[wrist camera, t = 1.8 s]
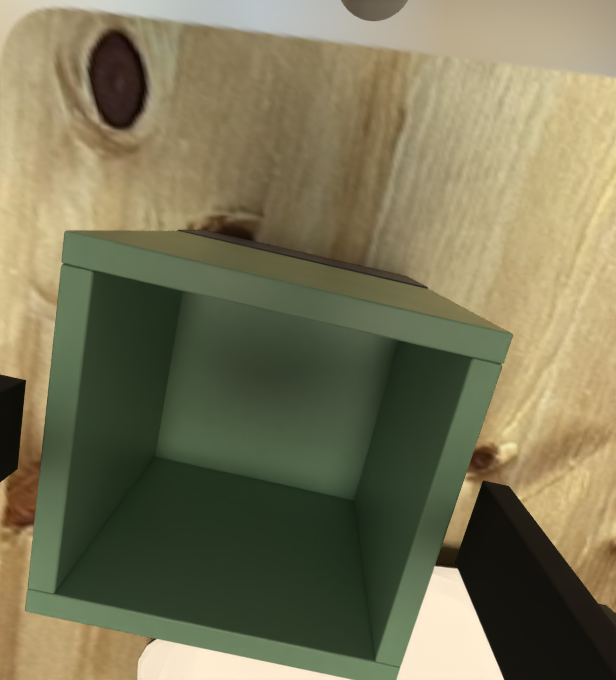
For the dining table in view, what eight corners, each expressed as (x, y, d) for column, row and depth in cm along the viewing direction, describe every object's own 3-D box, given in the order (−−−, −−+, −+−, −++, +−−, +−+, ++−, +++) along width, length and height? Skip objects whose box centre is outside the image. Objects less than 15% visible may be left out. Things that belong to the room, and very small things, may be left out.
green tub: (177, 230, 20) (63, 229, 11) (429, 289, 20) (514, 334, 11) (140, 462, 22) (23, 612, 13) (365, 511, 23) (393, 689, 14)
